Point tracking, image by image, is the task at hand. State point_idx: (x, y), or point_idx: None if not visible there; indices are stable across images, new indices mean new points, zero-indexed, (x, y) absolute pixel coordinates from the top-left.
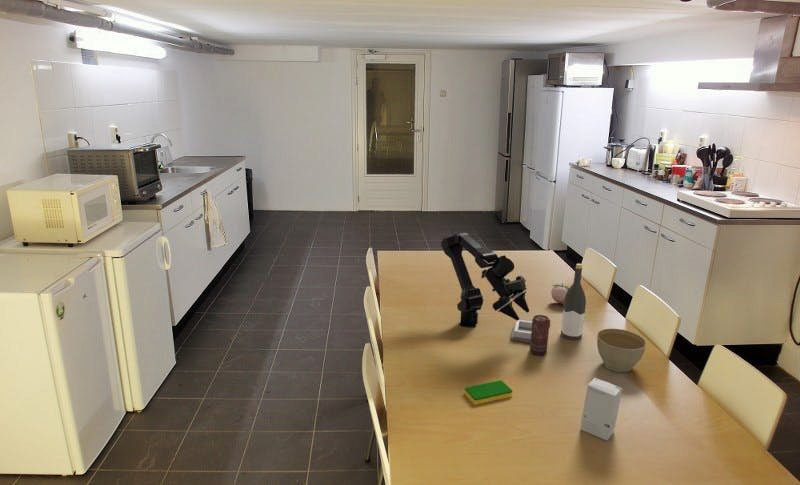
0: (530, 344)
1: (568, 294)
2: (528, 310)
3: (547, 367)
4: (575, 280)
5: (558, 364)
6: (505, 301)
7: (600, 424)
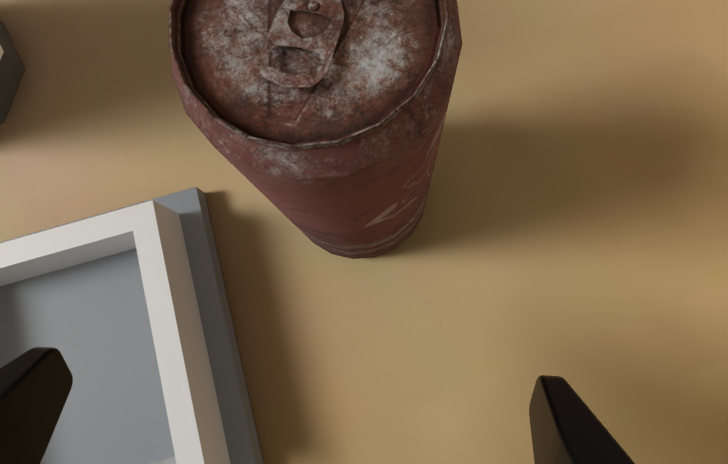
0: (387, 242)
1: None
2: (41, 362)
3: (550, 58)
4: None
5: None
6: None
7: None
